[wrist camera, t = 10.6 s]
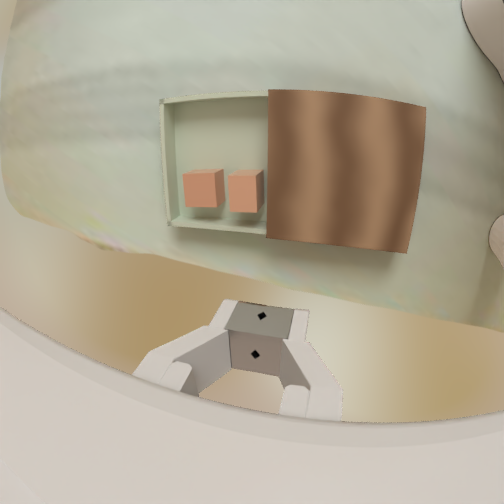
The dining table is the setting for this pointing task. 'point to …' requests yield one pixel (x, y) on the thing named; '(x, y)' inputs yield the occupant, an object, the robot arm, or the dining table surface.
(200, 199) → the tile
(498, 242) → the cup
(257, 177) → the tile
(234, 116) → the tray
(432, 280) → the dining table surface
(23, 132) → the dining table surface
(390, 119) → the board
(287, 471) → the robot arm
